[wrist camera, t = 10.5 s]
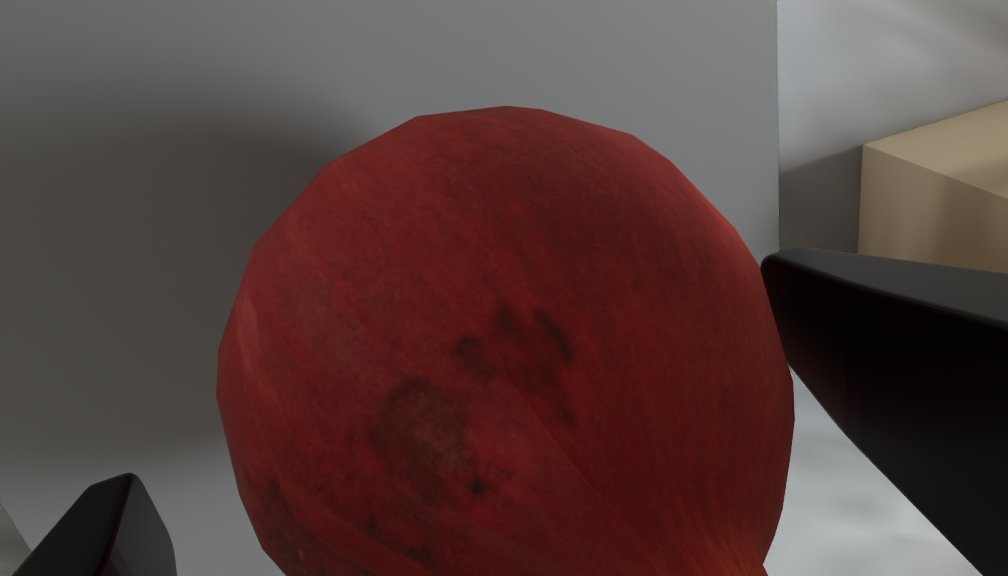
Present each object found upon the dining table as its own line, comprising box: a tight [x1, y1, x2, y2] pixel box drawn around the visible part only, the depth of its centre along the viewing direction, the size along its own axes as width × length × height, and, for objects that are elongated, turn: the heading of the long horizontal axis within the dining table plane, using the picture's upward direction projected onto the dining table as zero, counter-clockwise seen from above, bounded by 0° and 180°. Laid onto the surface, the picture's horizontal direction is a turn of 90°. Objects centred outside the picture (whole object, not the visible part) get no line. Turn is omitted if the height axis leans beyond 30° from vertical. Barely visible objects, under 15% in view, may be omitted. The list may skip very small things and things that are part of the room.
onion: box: [216, 106, 795, 576], centre depth 9 cm, size 6×6×8 cm
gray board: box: [0, 0, 779, 576], centre depth 13 cm, size 13×13×2 cm
